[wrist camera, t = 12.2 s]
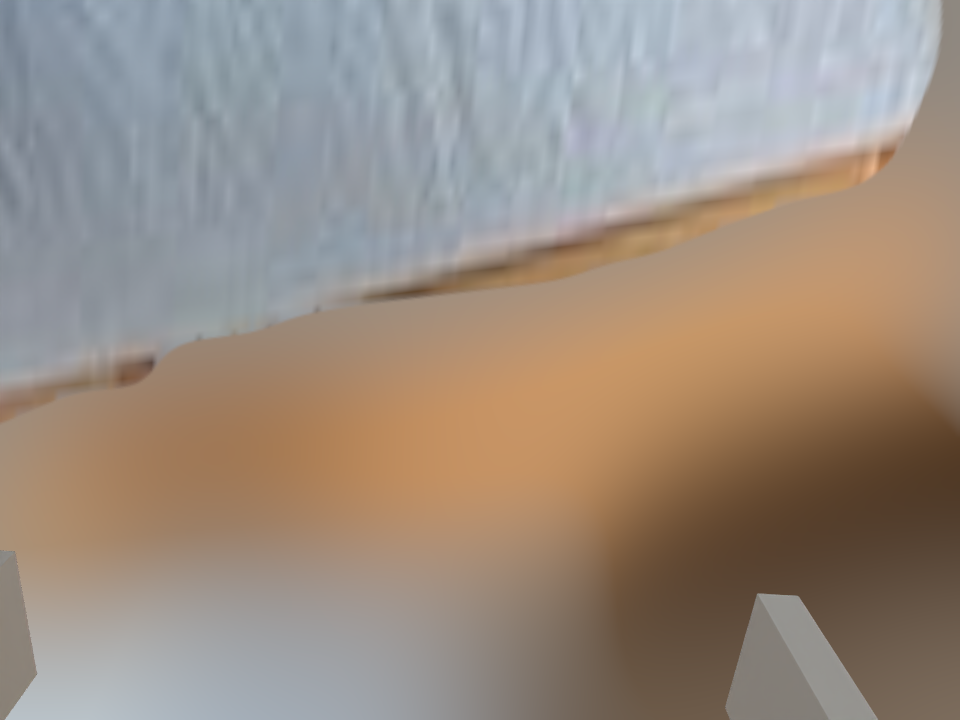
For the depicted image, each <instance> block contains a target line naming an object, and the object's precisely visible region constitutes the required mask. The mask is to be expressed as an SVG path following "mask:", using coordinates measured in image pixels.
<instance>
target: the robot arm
mask: <svg viewBox="0 0 960 720" xmlns="http://www.w3.org/2000/svg"><path fill="white" fill-rule="evenodd" d="M36 675H37V671H36V666H35V660H34V654H33V649H32V643H31V638H30V632H29V627H28V621H27V615H26V610H25V605H24V599H23V593H22V587H21V582H20V576H19V571H18V565H17V559H16V554H15V551H0V720H5V718H6V717H7V716H8V714H9V713H10V711H11V710H12V709H13V707H14V706H15V704H16V703H17V702H18V700H19V699H20V697H21V696H22V695H23V693H24V692H25V690H26V689H27V688H28V686H29V685H30V683H31V682H32V681H33V679H34V678H35V676H36ZM725 708H726V710H727V713H728V715H729V717H730V720H878V719H877V717H876V716H875V714H874V713H873V711H872V709H871V708H870V706H869V705H868V703H867V702H866V700H865V699H864V697H863V696H862V694H861V692H860V691H859V689H858V688H857V686H856V685H855V683H854V682H853V680H852V679H851V677H850V675H849V674H848V672H847V671H846V669H845V668H844V666H843V665H842V663H841V662H840V660H839V658H838V657H837V655H836V654H835V652H834V651H833V649H832V647H831V646H830V645H829V643H828V641H827V640H826V638H825V637H824V636H823V634H822V632H821V630H820V629H819V627H818V626H817V624H816V623H815V621H814V620H813V618H812V617H811V615H810V613H809V612H808V610H807V609H806V607H805V606H804V604H803V603H802V601H801V600H800V598H799V596H789V595H772V594H757V597H756V600H755V604H754V607H753V611H752V614H751V618H750V622H749V625H748V629H747V633H746V636H745V639H744V643H743V647H742V650H741V654H740V657H739V661H738V664H737V668H736V672H735V675H734V678H733V682H732V686H731V689H730V693H729V696H728V700H727V703H726V707H725Z"/></svg>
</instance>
